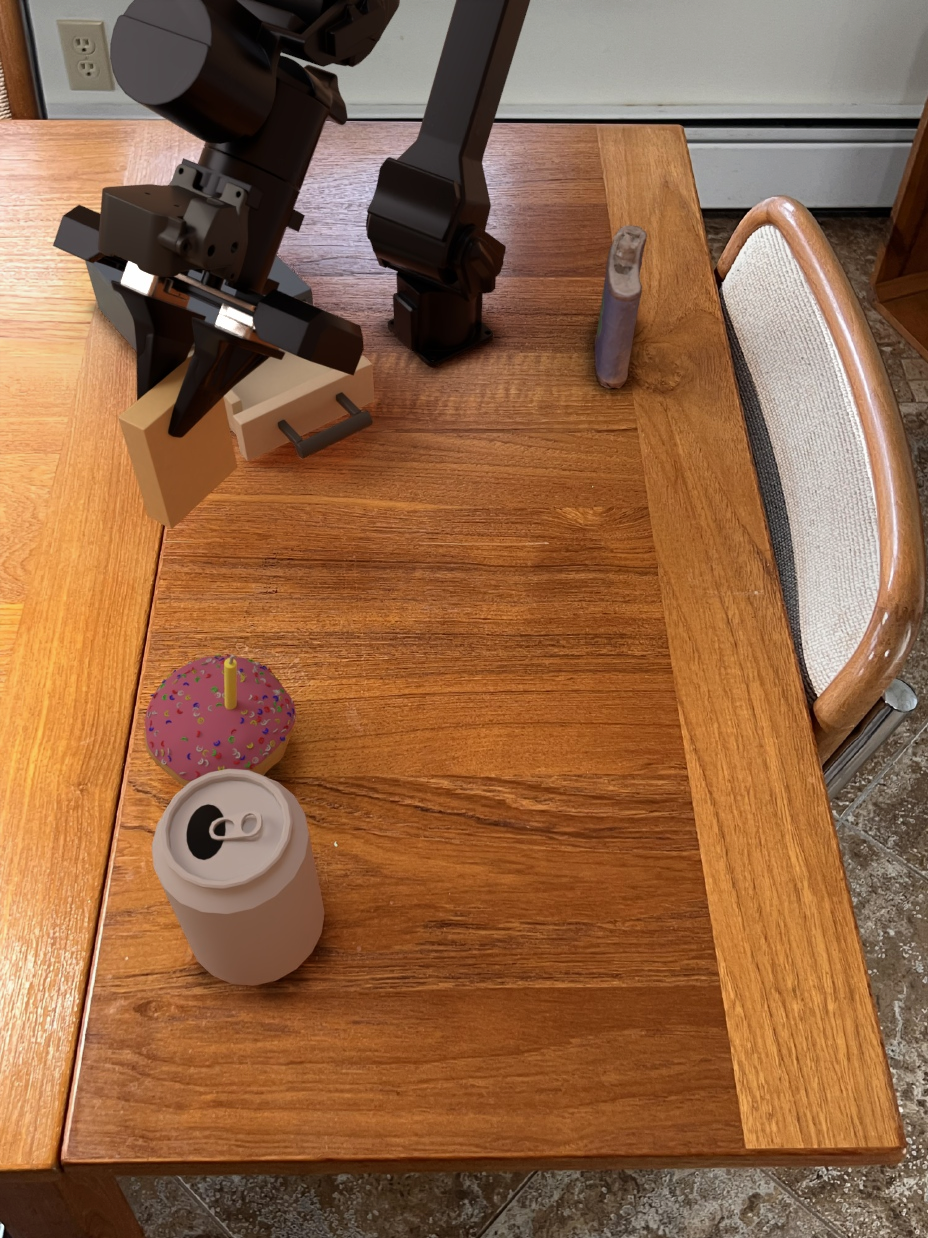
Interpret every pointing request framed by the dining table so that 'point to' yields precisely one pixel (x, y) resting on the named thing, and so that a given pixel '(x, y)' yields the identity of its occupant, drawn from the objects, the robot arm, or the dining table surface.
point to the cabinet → (123, 321)
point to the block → (176, 452)
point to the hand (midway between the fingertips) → (159, 428)
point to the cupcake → (218, 718)
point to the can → (240, 875)
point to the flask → (619, 306)
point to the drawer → (297, 405)
